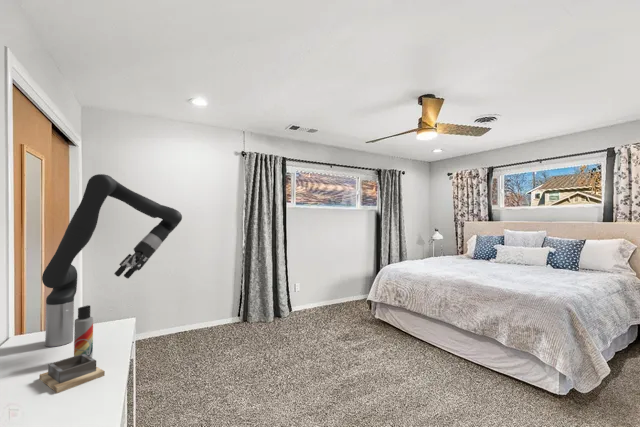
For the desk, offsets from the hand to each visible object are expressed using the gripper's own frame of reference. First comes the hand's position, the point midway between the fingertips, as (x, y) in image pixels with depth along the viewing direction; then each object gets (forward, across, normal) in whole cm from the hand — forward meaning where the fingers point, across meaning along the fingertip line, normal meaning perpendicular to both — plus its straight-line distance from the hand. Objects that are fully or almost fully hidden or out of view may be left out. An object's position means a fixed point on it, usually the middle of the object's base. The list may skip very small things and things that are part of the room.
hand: (120, 276), depth 131 cm
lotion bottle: (+30, 0, +11) cm, 32 cm away
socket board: (+35, +13, +6) cm, 38 cm away
